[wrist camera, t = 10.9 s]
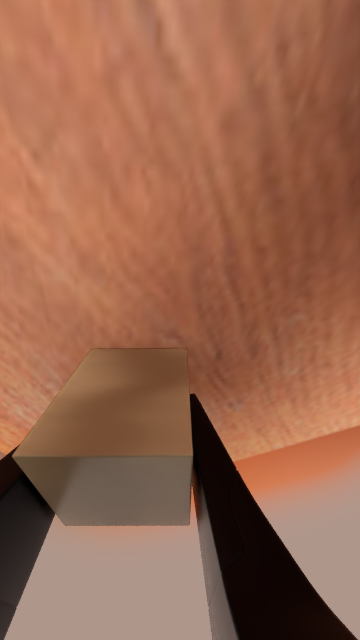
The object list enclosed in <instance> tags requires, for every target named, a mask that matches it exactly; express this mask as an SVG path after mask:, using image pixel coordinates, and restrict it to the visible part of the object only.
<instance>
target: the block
mask: <svg viewBox="0 0 360 640" xmlns="http://www.w3.org/2000/svg"><path fill="white" fill-rule="evenodd" d="M12 457H13V459H14V460H15V461H16V463H17V464H18V465H19V467H20V468H21V469H22V470H23V472H24V473H25V474H26V476H27V477H28V478H29V480H30V481H31V482H32V483H33V485H34V486H35V487H36V489H37V490H38V491H39V493H40V494H41V495H42V497H43V498H44V499H45V500H46V502H47V503H48V504H49V506H50V507H51V508H52V510H53V511H54V512H55V514H56V515H57V516H58V517H59V519H60V520H61V521H62V523H63V524H64V525H65V526H70V525H73V526H76V525H77V526H83V525H84V526H87V525H88V526H90V525H91V526H95V525H96V526H100V525H101V526H103V525H105V526H106V525H107V526H108V525H109V526H110V525H111V526H112V525H114V526H117V525H118V526H120V525H122V526H125V525H134V526H135V525H136V526H137V525H138V526H139V525H189V524H190V507H191V505H190V504H191V485H192V464H193V447H192V429H191V412H190V394H189V376H188V358H187V349H91V350H90V351H89V353H88V354H87V355H86V357H85V358H84V359H83V361H82V362H81V363H80V365H79V366H78V367H77V369H76V370H75V371H74V373H73V374H72V375H71V377H70V378H69V379H68V381H67V382H66V384H65V385H64V386H63V388H62V389H61V390H60V392H59V393H58V394H57V396H56V397H55V398H54V400H53V401H52V402H51V404H50V405H49V406H48V408H47V409H46V410H45V412H44V413H43V414H42V416H41V417H40V418H39V420H38V421H37V423H36V424H35V425H34V427H33V428H32V429H31V431H30V432H29V433H28V435H27V436H26V437H25V439H24V440H23V441H22V443H21V444H20V445H19V447H18V448H17V449H16V451H15V452H14V453H13V455H12Z"/></svg>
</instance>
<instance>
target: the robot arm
mask: <svg viewBox="0 0 360 640" xmlns="http://www.w3.org/2000/svg"><path fill="white" fill-rule="evenodd" d="M190 412H191V429H192V447H193V464H192V486H193V494H194V501H195V509H196V517H197V524H198V532H199V540H200V547H201V555H202V562H203V570H204V578H205V586H206V593H207V601H208V606H209V616H210V624H211V632H212V640H358V639H357V638H356V637H355V636H354V635H353V634H352V633H351V632H350V631H349V630H348V628H346V626H345V625H344V624H343V623H342V622H341V621H340V620H339V619H338V617H337V616H336V615H335V614H334V613H333V612H332V611H331V609H330V608H329V607H328V606H327V604H326V603H325V602H324V601H323V599H322V598H321V597H320V596H319V594H318V593H317V592H316V590H315V589H314V588H313V586H312V585H311V583H310V582H309V581H308V579H307V578H306V576H305V575H304V573H303V572H302V570H301V569H300V568H299V566H298V564H297V563H296V562H295V560H294V559H293V557H292V556H291V554H290V553H289V551H288V550H287V548H286V547H285V545H284V544H283V542H282V541H281V539H280V538H279V536H278V535H277V533H276V532H275V530H274V529H273V527H272V526H271V524H270V523H269V521H268V520H267V518H266V517H265V515H264V514H263V512H262V511H261V509H260V507H259V506H258V504H257V503H256V501H255V500H254V498H253V496H252V495H251V493H250V491H249V489H248V488H247V486H246V484H245V483H244V481H243V479H242V477H241V475H240V474H239V472H238V471H237V470H236V467H235V465H234V463H233V461H232V459H231V458H230V456H229V454H228V452H227V450H226V448H225V447H224V445H223V443H222V441H221V439H220V438H219V436H218V434H217V432H216V430H215V429H214V427H213V425H212V423H211V421H210V420H209V418H208V416H207V414H206V412H205V410H204V409H203V407H202V405H201V403H200V401H199V400H198V398H197V396H196V395H195V394H190ZM19 445H20V444H19ZM19 445H18V446H17V447H16V448H15V449H13V450H12V451H11V452H10V453H8V454H7V455H6V456H5V457H4V458H2V459H1V460H0V640H4V638H5V636H6V633H7V631H8V628H9V626H10V623H11V621H12V618H13V616H14V614H15V611H16V607H17V606H18V603H19V601H20V599H21V596H22V594H23V591H24V589H25V586H26V583H27V582H28V579H29V577H30V574H31V572H32V569H33V567H34V564H35V562H36V559H37V557H38V554H39V552H40V550H41V547H42V545H43V542H44V540H45V538H46V535H47V533H48V530H49V528H50V525H51V523H52V520H53V518H54V516H55V512H54V511H53V510H52V508H51V507H50V506H49V504H48V503H47V502H46V500H45V499H44V498H43V497H42V495H41V494H40V493H39V491H38V490H37V489H36V487H35V486H34V485H33V483H32V482H31V481H30V480H29V478H28V477H27V476H26V474H25V473H24V472H23V470H22V469H21V468H20V467H19V465H18V464H17V463H16V461H15V460H14V459H13V457H12V455H13V453H14V452H15V451H16V449H17V448H18V447H19Z"/></svg>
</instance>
